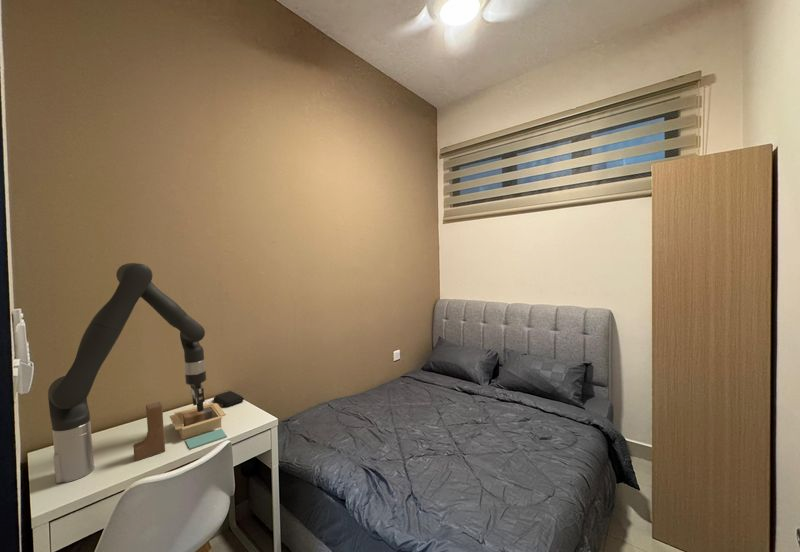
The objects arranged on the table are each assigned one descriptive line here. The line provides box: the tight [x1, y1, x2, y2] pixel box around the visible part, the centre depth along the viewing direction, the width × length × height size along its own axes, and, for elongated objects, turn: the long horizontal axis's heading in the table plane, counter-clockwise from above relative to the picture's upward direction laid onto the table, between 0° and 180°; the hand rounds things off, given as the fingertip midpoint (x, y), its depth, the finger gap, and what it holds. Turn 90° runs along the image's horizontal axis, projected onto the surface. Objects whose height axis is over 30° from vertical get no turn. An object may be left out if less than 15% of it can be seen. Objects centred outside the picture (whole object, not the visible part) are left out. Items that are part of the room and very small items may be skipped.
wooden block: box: [132, 401, 166, 462], centre depth 127 cm, size 9×4×18 cm, turn 131°
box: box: [183, 407, 213, 427], centre depth 147 cm, size 10×5×6 cm, turn 131°
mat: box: [185, 428, 228, 450], centre depth 137 cm, size 13×8×1 cm, turn 131°
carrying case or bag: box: [213, 390, 245, 408], centre depth 172 cm, size 11×3×15 cm
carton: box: [169, 402, 227, 440], centre depth 147 cm, size 18×19×5 cm
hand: (198, 407), depth 147 cm, fingers open, 8 cm apart
